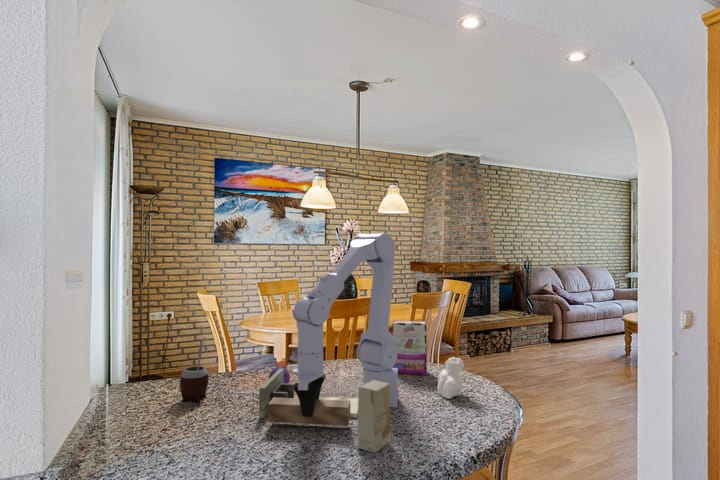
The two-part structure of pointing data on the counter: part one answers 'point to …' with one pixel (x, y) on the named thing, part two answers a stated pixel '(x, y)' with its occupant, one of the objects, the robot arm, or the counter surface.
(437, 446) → the counter surface
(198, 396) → the mate gourd
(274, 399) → the rail
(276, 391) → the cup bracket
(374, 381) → the skincare box
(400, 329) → the candy bar box
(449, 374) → the bust
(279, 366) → the kendama
